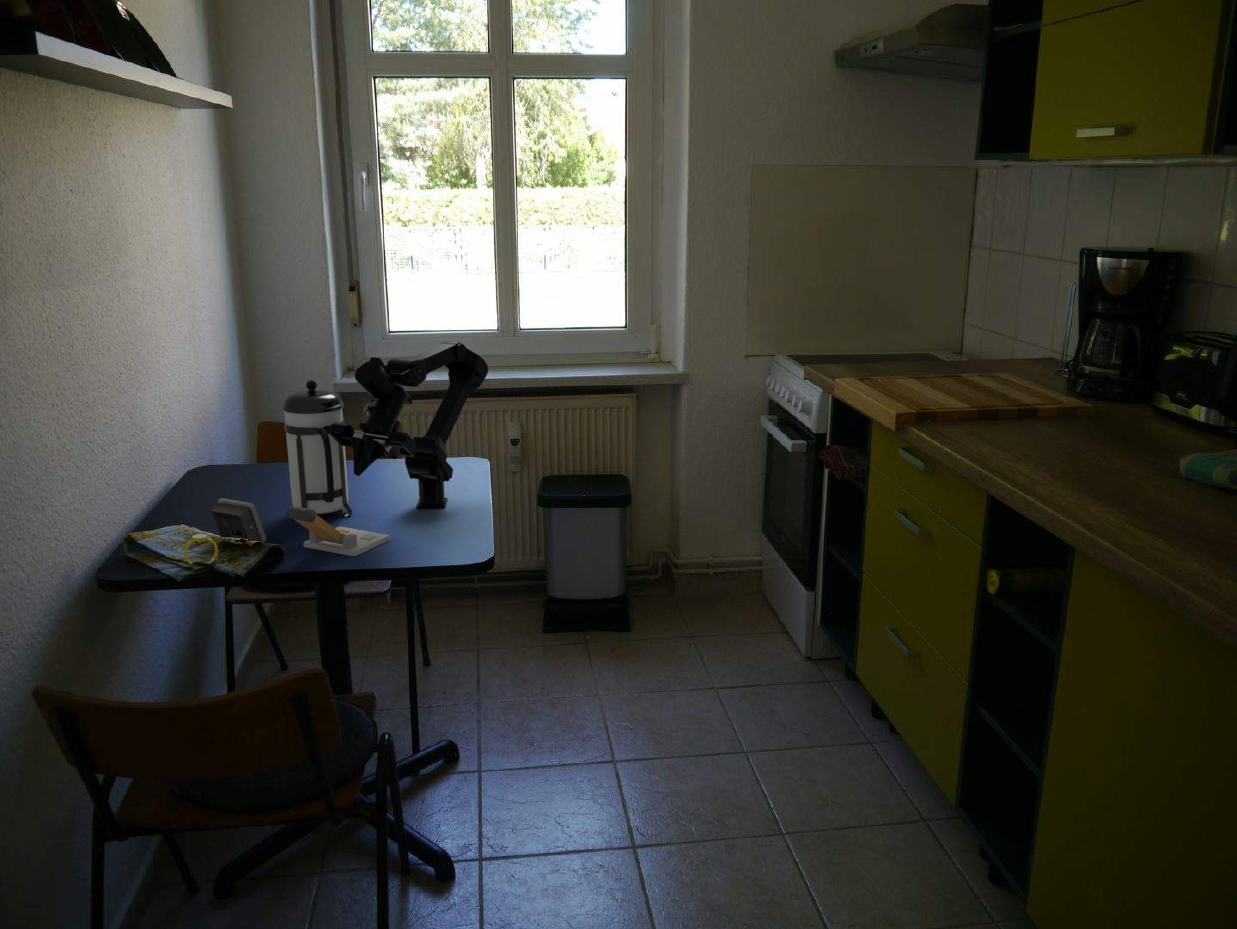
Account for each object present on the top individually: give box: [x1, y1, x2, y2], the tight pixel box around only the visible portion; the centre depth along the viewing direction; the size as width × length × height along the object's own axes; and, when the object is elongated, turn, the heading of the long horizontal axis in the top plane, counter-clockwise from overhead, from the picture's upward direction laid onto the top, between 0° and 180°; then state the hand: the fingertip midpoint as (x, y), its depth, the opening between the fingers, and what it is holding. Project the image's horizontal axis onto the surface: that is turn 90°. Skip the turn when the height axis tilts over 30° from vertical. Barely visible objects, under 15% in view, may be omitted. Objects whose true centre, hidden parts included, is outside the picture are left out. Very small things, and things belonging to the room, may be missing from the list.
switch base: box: [302, 526, 391, 557], centre depth 210 cm, size 11×13×4 cm
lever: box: [285, 505, 346, 544], centre depth 201 cm, size 2×6×13 cm
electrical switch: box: [210, 497, 267, 543], centre depth 209 cm, size 9×5×9 cm, turn 65°
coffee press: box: [281, 379, 353, 518], centre depth 224 cm, size 17×16×30 cm
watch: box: [183, 533, 219, 566], centre depth 197 cm, size 6×3×6 cm, turn 120°
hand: (356, 474), depth 210 cm, fingers closed
